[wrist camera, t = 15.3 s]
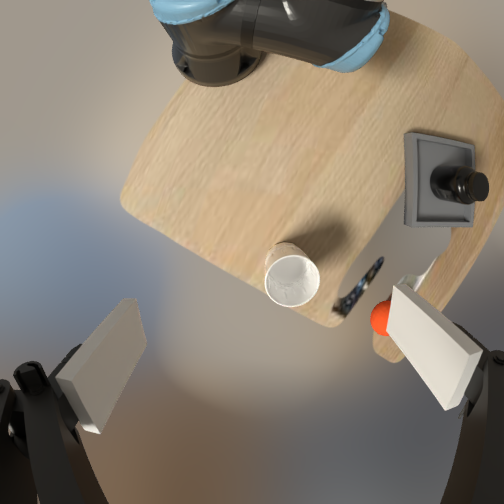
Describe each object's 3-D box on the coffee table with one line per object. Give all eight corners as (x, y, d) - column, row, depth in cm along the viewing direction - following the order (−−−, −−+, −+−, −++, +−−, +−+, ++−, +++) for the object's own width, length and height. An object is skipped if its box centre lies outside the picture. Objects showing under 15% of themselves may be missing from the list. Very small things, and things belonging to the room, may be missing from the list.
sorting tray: (403, 133, 43) (411, 132, 40) (465, 145, 43) (474, 145, 40) (403, 224, 47) (411, 227, 44) (464, 224, 47) (472, 227, 44)
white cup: (272, 231, 48) (278, 246, 38) (314, 248, 48) (329, 267, 39) (254, 272, 50) (256, 296, 40) (295, 288, 50) (305, 314, 41)
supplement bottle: (455, 195, 45) (494, 204, 33) (431, 203, 45) (471, 212, 34) (449, 162, 43) (489, 163, 31) (425, 168, 44) (465, 169, 32)
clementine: (376, 286, 51) (391, 301, 44) (402, 293, 51) (419, 308, 44) (359, 321, 53) (372, 340, 46) (386, 327, 53) (400, 345, 46)
